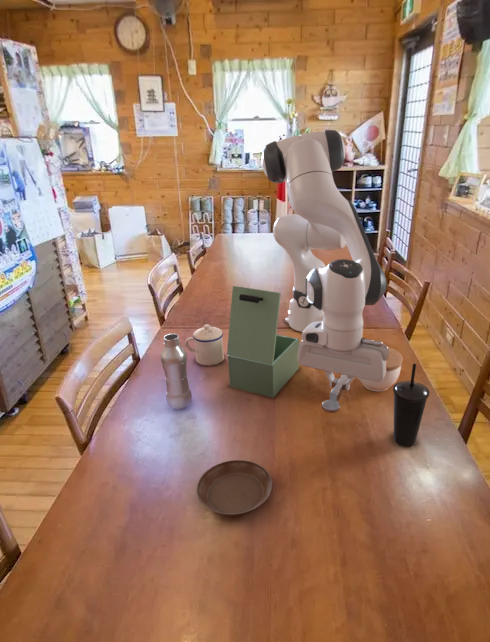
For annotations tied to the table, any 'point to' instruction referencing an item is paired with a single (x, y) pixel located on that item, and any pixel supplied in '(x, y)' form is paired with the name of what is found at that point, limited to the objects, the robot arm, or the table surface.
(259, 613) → the table surface
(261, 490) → the saucer
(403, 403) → the drinking cup
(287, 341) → the bin
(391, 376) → the lidded bowl
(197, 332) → the teacup with lid
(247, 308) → the bin lid
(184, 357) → the silver metal bottle
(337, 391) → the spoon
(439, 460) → the table surface
